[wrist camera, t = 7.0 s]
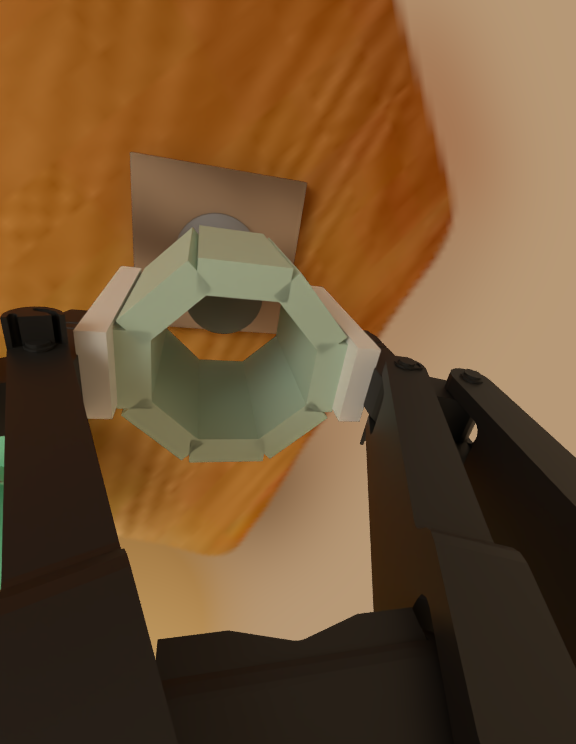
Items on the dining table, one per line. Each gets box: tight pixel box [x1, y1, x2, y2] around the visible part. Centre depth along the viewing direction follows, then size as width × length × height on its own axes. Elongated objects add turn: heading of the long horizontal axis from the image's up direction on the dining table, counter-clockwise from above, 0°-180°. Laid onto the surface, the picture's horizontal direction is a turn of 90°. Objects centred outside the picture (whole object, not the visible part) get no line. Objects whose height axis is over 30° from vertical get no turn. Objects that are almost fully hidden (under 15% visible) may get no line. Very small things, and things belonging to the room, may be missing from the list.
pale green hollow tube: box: [113, 225, 348, 462], centre depth 14 cm, size 7×7×6 cm
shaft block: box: [130, 152, 307, 334], centre depth 21 cm, size 10×10×9 cm
